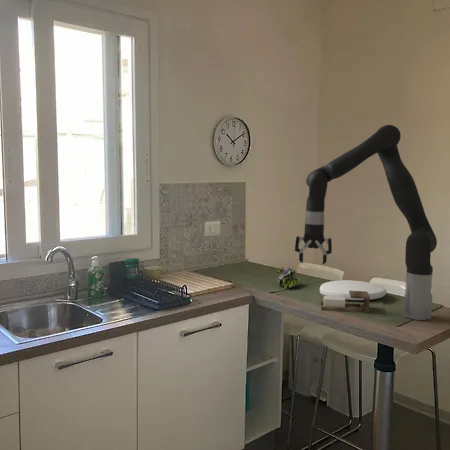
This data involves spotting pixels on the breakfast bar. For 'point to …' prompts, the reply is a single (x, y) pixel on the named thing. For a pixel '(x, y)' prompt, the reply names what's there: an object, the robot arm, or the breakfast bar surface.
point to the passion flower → (288, 274)
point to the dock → (353, 306)
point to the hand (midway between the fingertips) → (312, 263)
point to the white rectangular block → (334, 301)
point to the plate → (351, 289)
